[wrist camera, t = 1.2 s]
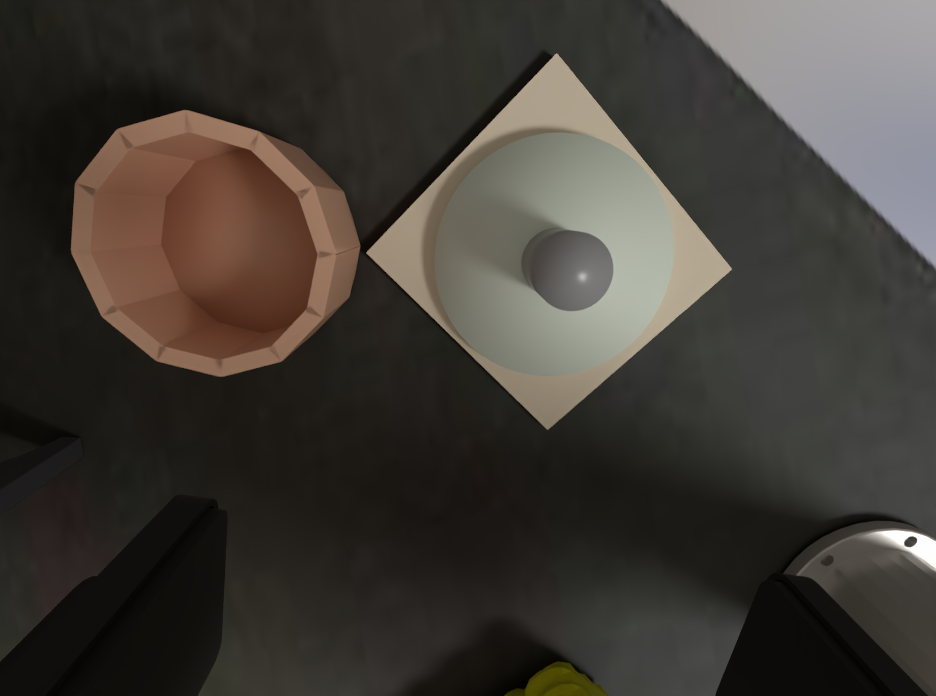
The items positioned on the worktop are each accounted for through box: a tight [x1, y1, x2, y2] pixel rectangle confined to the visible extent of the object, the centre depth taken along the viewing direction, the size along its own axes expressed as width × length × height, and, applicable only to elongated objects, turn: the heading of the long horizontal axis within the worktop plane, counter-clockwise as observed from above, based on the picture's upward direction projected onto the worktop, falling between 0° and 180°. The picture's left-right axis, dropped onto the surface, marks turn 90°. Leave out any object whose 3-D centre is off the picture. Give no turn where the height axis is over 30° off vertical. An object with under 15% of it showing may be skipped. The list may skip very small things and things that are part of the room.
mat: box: [366, 53, 732, 430], centre depth 27 cm, size 15×14×1 cm
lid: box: [434, 132, 674, 376], centre depth 24 cm, size 13×13×5 cm
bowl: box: [71, 110, 361, 377], centre depth 24 cm, size 11×11×6 cm
